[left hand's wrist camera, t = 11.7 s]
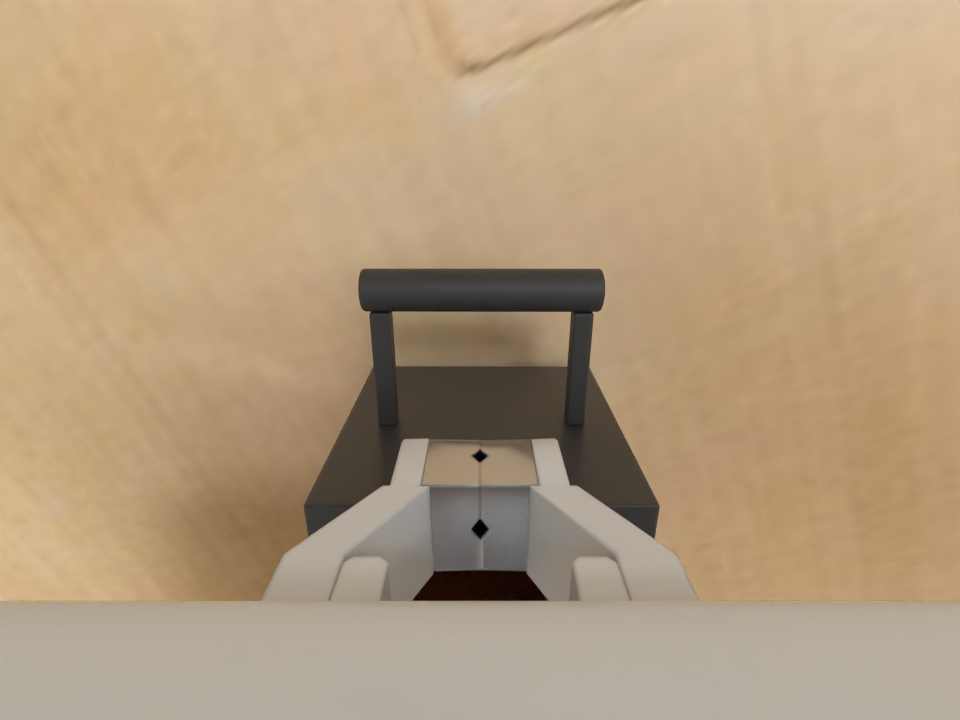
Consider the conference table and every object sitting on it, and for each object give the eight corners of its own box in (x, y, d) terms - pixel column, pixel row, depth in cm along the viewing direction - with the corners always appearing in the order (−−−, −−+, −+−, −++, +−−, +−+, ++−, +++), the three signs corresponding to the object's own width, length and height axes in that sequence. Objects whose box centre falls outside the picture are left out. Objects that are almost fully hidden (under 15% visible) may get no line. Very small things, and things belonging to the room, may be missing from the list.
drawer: (362, 242, 20) (272, 311, 11) (599, 242, 20) (692, 311, 11) (394, 628, 27) (354, 847, 19) (566, 629, 27) (606, 848, 19)
